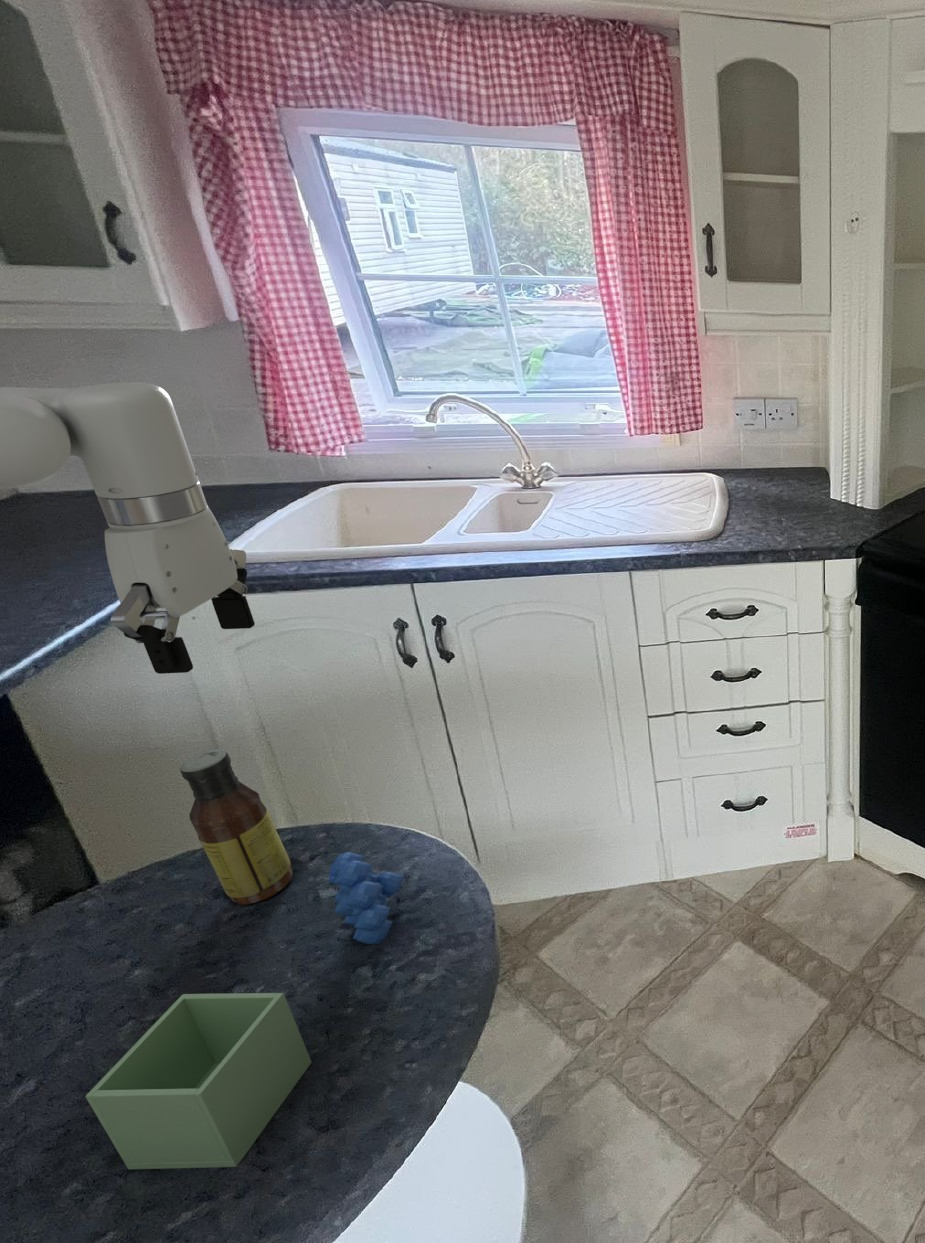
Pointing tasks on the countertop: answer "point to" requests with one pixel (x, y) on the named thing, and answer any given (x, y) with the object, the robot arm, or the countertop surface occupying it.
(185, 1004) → the bin
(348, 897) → the grapes
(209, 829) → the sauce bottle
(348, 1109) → the countertop surface
